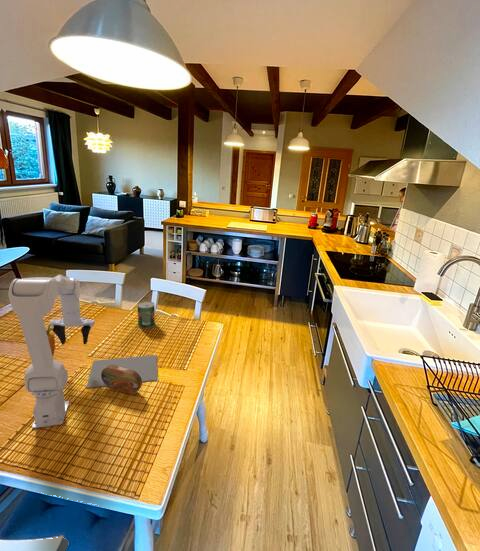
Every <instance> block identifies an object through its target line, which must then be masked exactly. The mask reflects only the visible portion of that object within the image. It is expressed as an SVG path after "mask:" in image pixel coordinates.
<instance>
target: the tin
mask: <svg viewBox="0 0 480 551" xmlns="http://www.w3.org/2000/svg"><path fill="white" fill-rule="evenodd" d="M101 378H102V380H103V382H104V384H105V385H106V386H105V387H108V389H111V390H113V391H114V390H115V391H117V392H121V393H125V394H127V395H135V394H137V393H138V391H140V389H141V388H142V385H143V382H142V379H141V377H140V375H139V374H138V373H137V372H136V371H134V370H131V369H127V368H124V367H121V366H117V365H109V366H108V367H106V368H105V369H103V370H102V373H101Z"/></svg>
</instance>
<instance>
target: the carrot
mask: <svg viewBox="0 0 480 551" xmlns="http://www.w3.org/2000/svg"><path fill="white" fill-rule="evenodd" d="M53 328H54V327H50V323H49V324H48V326H47V329H46V332H47V336H48V340H49V344H50V348H51V352H52V356H53V357H54V354H55V350H56V341H55V340H56V339H55V333H54V332H51V331H53Z"/></svg>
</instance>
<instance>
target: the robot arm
mask: <svg viewBox="0 0 480 551" xmlns="http://www.w3.org/2000/svg"><path fill="white" fill-rule="evenodd" d="M7 293H8V294H7V297H8V299H9V303H10V305H11V306H10V307H11V310H12V311H13V312H12V313H14V314H16V315H17V317H18V320H19V324H20V328H21V331H22V334H23V338H24V340H25V344H26V348H27V351H28V353H29V358H30V362H31V364H30V365H29V366H28V367H27V368H26V370H25V372H24V387H25V388H24V389H25V390H26V391H27V392H29V393H31V396H34V399H35V404H34V407H33V409H32V413H33V414H32V415H33V420H34V421H33V423H32V425H31V428H32V429H39V428H45V427H46V428H47V427H53V426H58V425H59V426H60V425H62V424H63V423H64V420H65V416H66V414H67V412H68V407H69V405H70V401H69V400H66V401H65V395H64V389H65V388H66V386H67V383H68V379H69V374H68V370H67V369H66V367H65V365H64V363H63V362H60V361H58V360H55V359H54V355H53V356H52V352H51V348H50V344H49V340H48V336H47V332H46V330H47V328H46V325H45V320H44V316H46V315H48V314H50V313H51V312H52V309H53V307H54V305H55V301H56V299H57V296H59V297H60V298H59V299H60V306H61V314H62V318H59V319H57V318H56V319H51V320H50V321H49V324H50V328H53V329H52V333H54V335H56V336H57V338H58V340H59V341H60V343H61V345H65V343H66V342H67V337H66V328H67V327H69V328H72V327H82V328H81V329H80V332H81V335H82V343H83V345H87V343H88V342H89V335H90V331H91V329H92V328H93V327H94V326H95V319H88V318H83V317H82V316H81V315H82V314H81V307H80V297H81V283H80V280H79V279H77V278H73V277H72V278H69V276H64V275H63V274H56V276H54V277H42V276H41V277H39V276H38V277H36V276H35V277H21V278H15V279H13V280H12V281H11V282H10V285H9V289H8V292H7Z"/></svg>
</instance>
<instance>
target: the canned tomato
mask: <svg viewBox="0 0 480 551" xmlns="http://www.w3.org/2000/svg"><path fill="white" fill-rule="evenodd" d="M136 307H137V326H138V328H140V329H144V330H145V329H152V328H153V327H154V326H156V324H155V321H156V320H155V318H156V317H155V314H156V313H155V312H156V311H155V302H153V301H151V300H149V301H148V300H144V301H140V302H138V303H137V305H136Z"/></svg>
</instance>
